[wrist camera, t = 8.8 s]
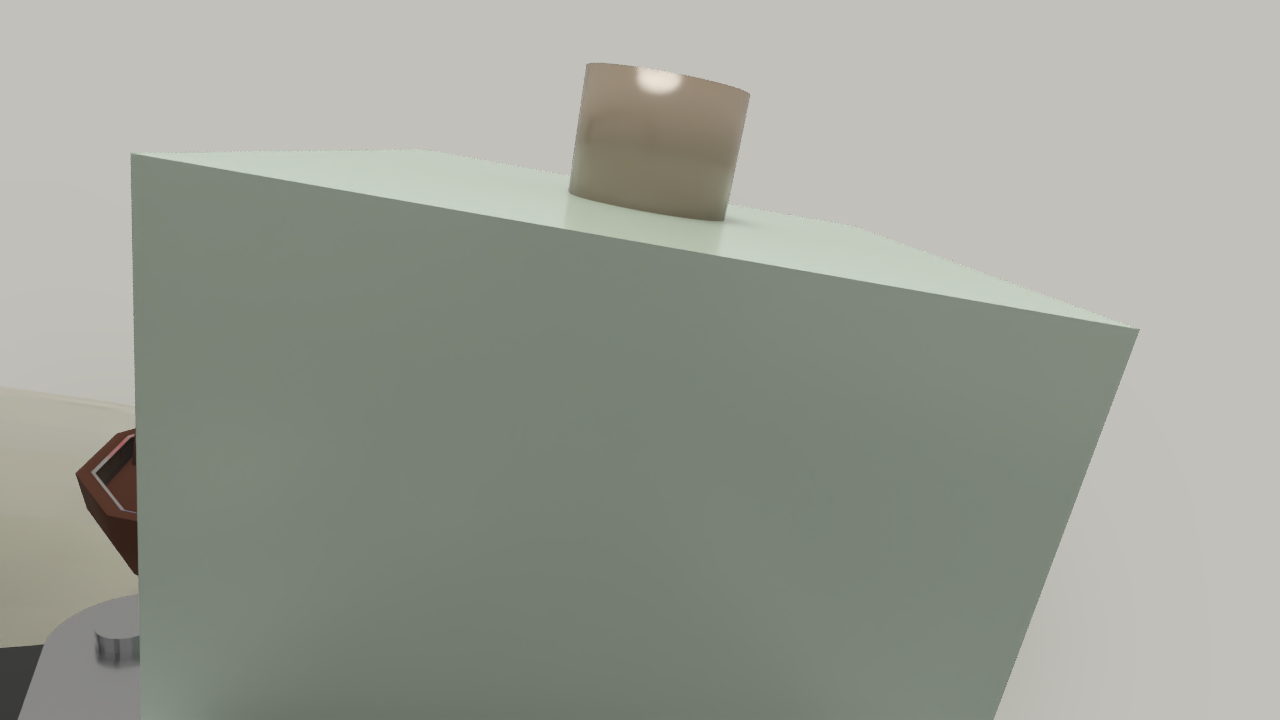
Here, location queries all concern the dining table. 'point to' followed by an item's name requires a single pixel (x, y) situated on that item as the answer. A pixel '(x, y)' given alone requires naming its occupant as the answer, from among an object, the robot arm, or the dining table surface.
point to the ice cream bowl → (114, 493)
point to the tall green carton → (584, 438)
